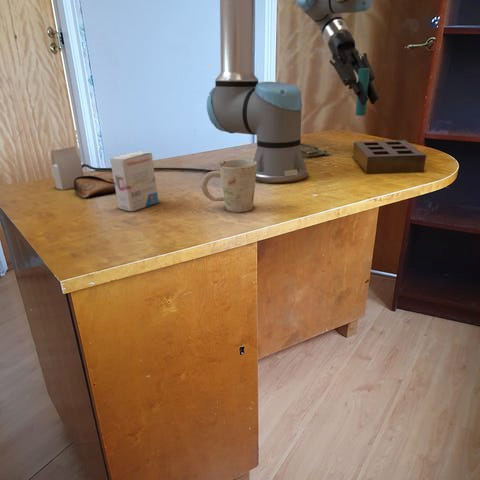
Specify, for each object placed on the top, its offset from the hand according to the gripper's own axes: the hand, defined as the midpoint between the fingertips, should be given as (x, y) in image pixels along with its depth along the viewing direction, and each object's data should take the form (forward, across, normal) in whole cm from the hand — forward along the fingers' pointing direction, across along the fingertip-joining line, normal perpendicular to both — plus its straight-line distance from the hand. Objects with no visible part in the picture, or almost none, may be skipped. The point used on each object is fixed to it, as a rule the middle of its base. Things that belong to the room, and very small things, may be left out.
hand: (370, 101), depth 150 cm
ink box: (+20, -79, +3) cm, 82 cm away
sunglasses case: (+7, -80, +16) cm, 82 cm away
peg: (0, 0, +6) cm, 6 cm away
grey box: (-1, -89, +24) cm, 92 cm away
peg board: (+21, -4, +1) cm, 21 cm away
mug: (+30, -62, -7) cm, 69 cm away
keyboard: (-1, -13, +23) cm, 27 cm away
